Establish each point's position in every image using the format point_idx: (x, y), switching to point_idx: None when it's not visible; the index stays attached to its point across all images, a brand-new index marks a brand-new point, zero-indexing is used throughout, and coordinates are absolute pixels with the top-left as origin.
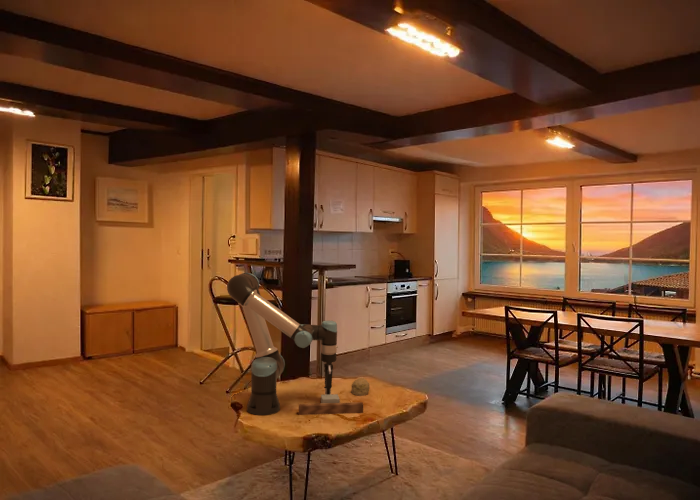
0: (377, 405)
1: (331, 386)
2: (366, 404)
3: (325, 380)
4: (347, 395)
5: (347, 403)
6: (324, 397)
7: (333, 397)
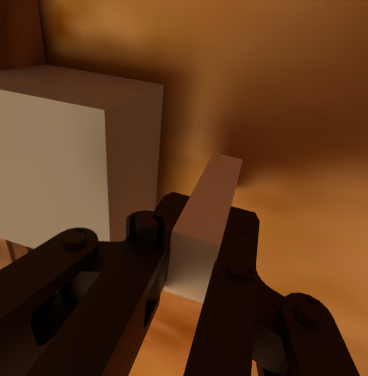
0: (136, 361)
1: (57, 298)
2: (156, 339)
3: (207, 361)
4: (352, 350)
5: (3, 252)
6: (8, 120)
7: (21, 206)
